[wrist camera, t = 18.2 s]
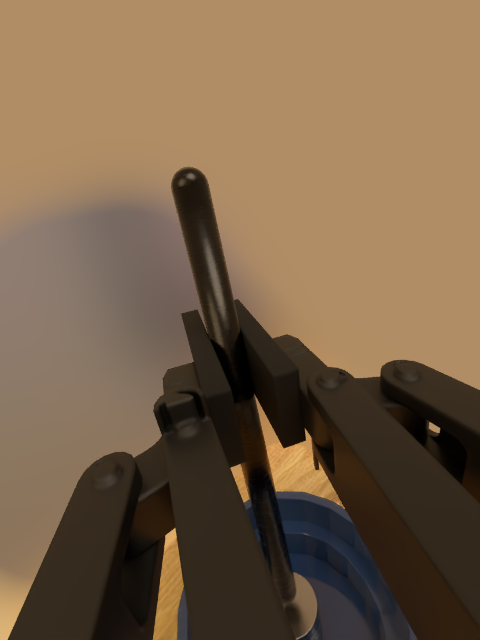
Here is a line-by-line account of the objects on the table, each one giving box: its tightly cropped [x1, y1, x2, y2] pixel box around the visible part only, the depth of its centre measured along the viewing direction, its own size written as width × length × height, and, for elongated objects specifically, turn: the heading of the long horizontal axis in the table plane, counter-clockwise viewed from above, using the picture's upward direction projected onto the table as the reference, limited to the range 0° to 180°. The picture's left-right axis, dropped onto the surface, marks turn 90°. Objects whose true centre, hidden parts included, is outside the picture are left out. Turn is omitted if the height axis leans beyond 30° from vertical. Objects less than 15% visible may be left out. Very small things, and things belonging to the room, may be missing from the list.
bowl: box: [177, 491, 417, 640], centre depth 15 cm, size 11×11×5 cm
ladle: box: [171, 167, 323, 640], centre depth 13 cm, size 3×3×23 cm
